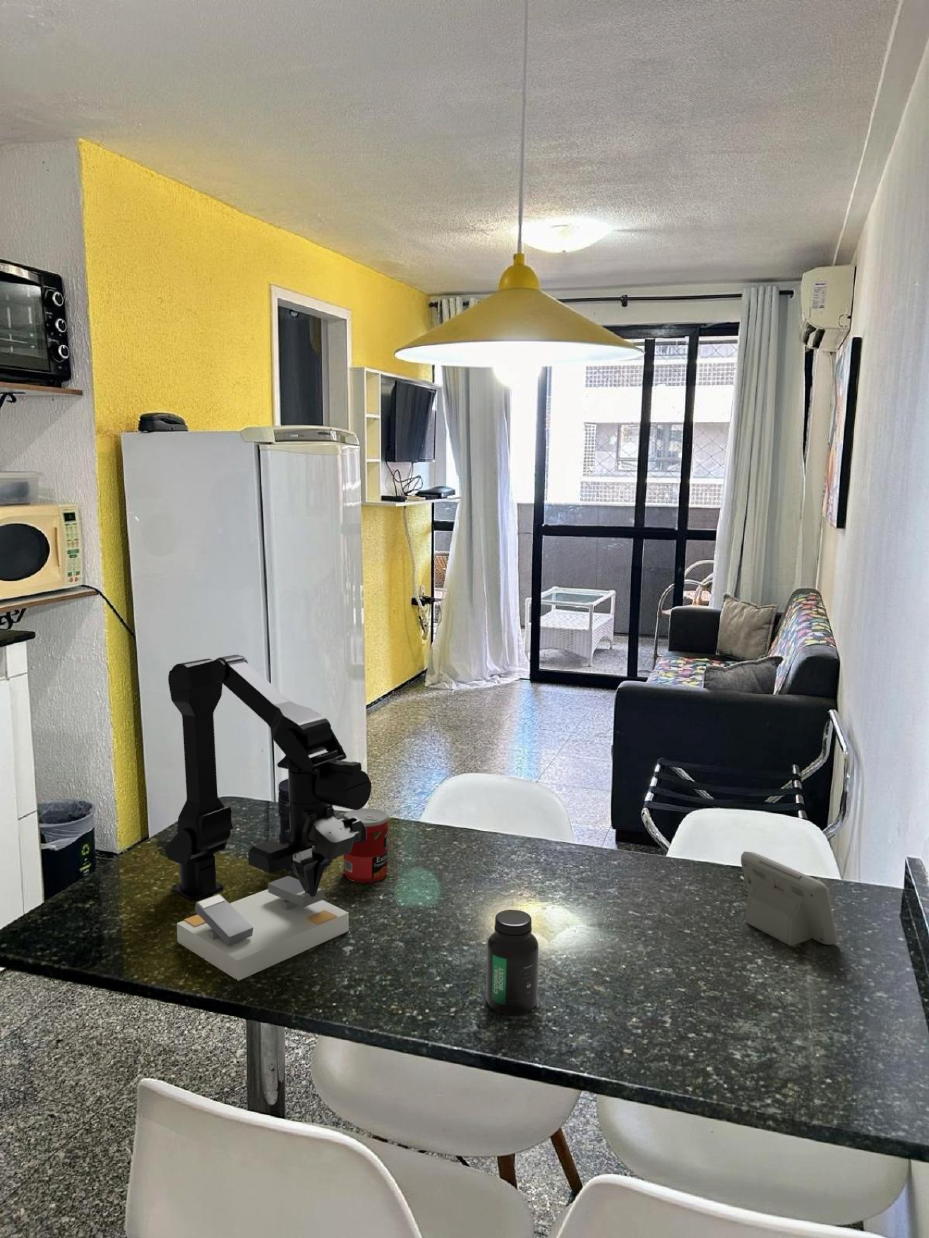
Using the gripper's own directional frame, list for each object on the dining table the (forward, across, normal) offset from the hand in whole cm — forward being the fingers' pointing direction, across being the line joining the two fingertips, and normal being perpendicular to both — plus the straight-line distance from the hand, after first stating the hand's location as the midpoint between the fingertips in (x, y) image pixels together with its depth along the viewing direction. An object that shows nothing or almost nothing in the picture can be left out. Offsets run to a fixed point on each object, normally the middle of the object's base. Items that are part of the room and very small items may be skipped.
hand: (311, 896), depth 138 cm
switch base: (+6, -6, +4) cm, 9 cm away
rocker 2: (0, 0, +4) cm, 4 cm away
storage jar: (+5, +16, +22) cm, 28 cm away
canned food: (+6, +20, +10) cm, 23 cm away
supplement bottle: (+7, +6, -35) cm, 36 cm away
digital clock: (+8, +52, -53) cm, 75 cm away
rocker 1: (0, -13, +4) cm, 14 cm away
